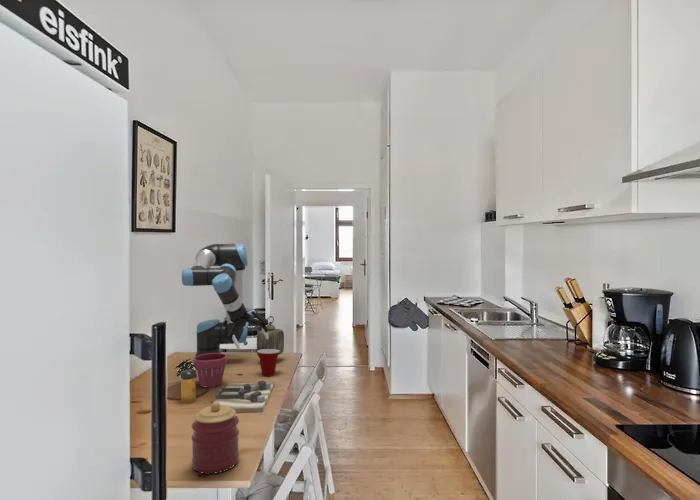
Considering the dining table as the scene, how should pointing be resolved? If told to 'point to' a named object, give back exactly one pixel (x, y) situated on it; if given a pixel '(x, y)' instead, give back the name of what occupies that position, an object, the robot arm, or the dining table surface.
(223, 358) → the plant pot
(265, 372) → the plastic cup
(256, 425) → the dining table surface
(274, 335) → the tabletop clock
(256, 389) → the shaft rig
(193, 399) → the orange translucent cylinder
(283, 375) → the dining table surface
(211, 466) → the canister
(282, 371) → the dining table surface
